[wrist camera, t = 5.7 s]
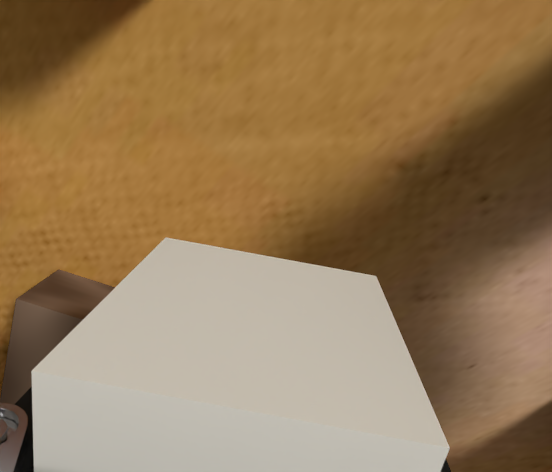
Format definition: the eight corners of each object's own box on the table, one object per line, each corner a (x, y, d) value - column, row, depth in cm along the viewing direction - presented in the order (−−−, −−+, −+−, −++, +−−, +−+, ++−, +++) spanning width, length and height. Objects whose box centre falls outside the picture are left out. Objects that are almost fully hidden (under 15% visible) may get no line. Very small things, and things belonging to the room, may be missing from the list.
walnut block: (222, 319, 30) (208, 359, 25) (173, 460, 34) (154, 517, 29) (61, 267, 29) (16, 298, 24) (32, 418, 33) (-12, 470, 28)
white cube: (375, 275, 11) (450, 448, 6) (330, 441, 13) (351, 693, 8) (165, 237, 11) (31, 370, 6) (150, 408, 13) (37, 635, 8)
